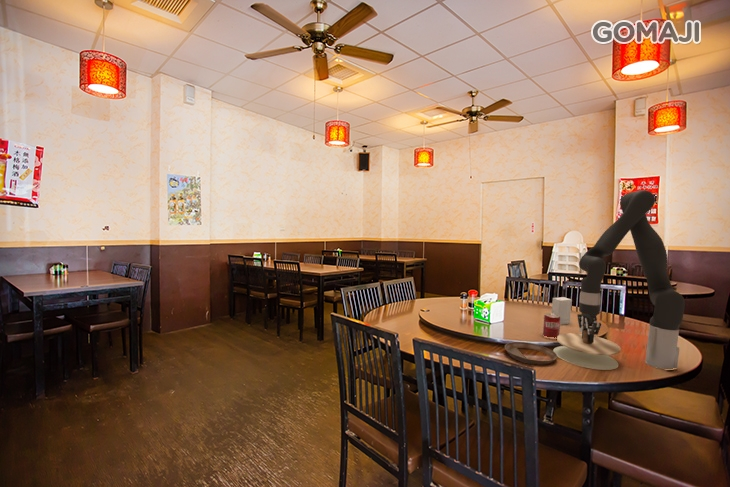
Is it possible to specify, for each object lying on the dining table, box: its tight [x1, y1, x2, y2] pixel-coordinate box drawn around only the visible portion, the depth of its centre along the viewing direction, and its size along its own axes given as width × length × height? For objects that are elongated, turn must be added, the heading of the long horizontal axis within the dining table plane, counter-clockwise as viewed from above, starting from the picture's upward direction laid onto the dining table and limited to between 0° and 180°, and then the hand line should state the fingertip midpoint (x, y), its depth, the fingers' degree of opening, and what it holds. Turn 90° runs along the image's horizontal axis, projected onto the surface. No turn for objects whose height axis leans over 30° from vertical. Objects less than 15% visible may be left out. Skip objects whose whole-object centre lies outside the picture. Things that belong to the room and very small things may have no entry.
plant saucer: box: [504, 341, 557, 366], centre depth 147 cm, size 21×21×3 cm
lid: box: [556, 330, 621, 356], centre depth 146 cm, size 23×23×6 cm
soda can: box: [542, 312, 561, 338], centre depth 170 cm, size 7×7×12 cm
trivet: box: [552, 345, 619, 371], centre depth 147 cm, size 24×24×1 cm
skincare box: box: [551, 296, 573, 326], centre depth 194 cm, size 8×6×15 cm
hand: (587, 340), depth 146 cm, fingers closed on lid, 3 cm apart
